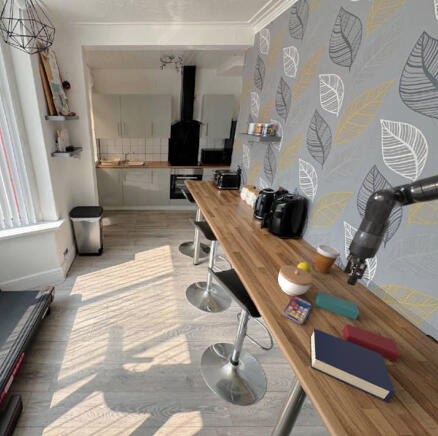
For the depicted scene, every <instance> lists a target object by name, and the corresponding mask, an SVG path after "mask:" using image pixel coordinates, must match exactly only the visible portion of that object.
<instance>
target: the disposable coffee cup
mask: <svg viewBox="0 0 438 436" xmlns="http://www.w3.org/2000/svg"><path fill="white" fill-rule="evenodd" d="M340 256H341V253H340V250H339V249H337V248H336V247H333V246H331V245H327V244H320V245H318V247H316V255H315V261H314V264H313V268H314V269H315V270H316V271H318V272H320V273H324V274H328V273H329V271H330V270H331V269H332V267H333V265H334V264H335V262H336V261H337V259H338V258H339V257H340Z"/></svg>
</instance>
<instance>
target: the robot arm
mask: <svg viewBox="0 0 438 436" xmlns="http://www.w3.org/2000/svg"><path fill="white" fill-rule="evenodd" d="M433 201H438V174H435V175H430V176H427V177H423V178H420V179H416V180H414V181H411V182H410V183H405V184H401V185H397V186H392V187H387V188H381V189H378V190H375V191H374V192H372V193H371V194H370V196H369V197H368V199H367V201H366V203H365V209H364V215H363V218H362V220H361V222H360V225H359V227H358V228H357V230H356V231H355V232H354V236H353V237H352V240H351V242H350V244H349V246H348V251H349V253H348V255H347V257H346V265H345V268H344V269H343V273H344V274H348V275H349V277H348V278H347V280H346V284H347V285H349V286H352V287H353V286H355V285H356V283H357V281H358V280H361V281H362V279H363V276H364V274H365V272H366V271H367V268H368V264H367V259H374V258H375V257H376V255H377V253H378V251H379V250H380V247H381V246H382V245H383V242H384V238H385V235H386V233H387V231H388V230H389V228H390V226H391V222H392V221H391V219H390V217H391V215H392V212H393V210H394V209H398V208H401V207H402V208H403V207H407V206H411V205H414V204H419V203H429V202H433Z"/></svg>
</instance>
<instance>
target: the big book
mask: <svg viewBox="0 0 438 436" xmlns="http://www.w3.org/2000/svg"><path fill="white" fill-rule="evenodd" d="M309 350H310V368H311V369H313V370H316V371H317V372H319V373H321V374H324V375H325V376H326V375H327V376H329V377H330V378H333V379H335V380H337V381H339V382H341V383H344V384H346V385H348V386H350V387H352V388H354V389H357V390H359V391H361V392H363V393H365V394H368V395H370V396H372V397H374V398H377V399H379V400H380V401H383V402H385V403H389V402H390V400H391V399H392V398H393V397H394V395H395V394H396V392H395V391H396V390H395V388H394V385H393V383H392V379H391V376H390V374H389V370H388V368H387V365H386V361H385V358H384V357H383V355H382V354H379V353H377V352H374V351H371V350H369V349H366V348H364V347H361V346H359V345H356V344H353V343H351V342H348V341H346V340H344V338H341V337H338V336H335V335H332V334H330V333H327V332H325V331H322V330H320V329H317V328H315V327H314V328H313V332H312V335H311V336H309Z"/></svg>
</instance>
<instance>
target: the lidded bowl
mask: <svg viewBox="0 0 438 436" xmlns="http://www.w3.org/2000/svg"><path fill="white" fill-rule="evenodd" d="M277 281H278V285H279V286H280V288H281V290H282V291H283V293H286V294H287V295H289V296H292V297H293V296H298V297H299V296H302V295H304V294H305V293H307V292H308V291H309V290H310V288H311V286H312V284H313V283H314V278H313V276H312V274H310V273H308V272H307V271H305V270H303V269H301V268H298V267H297V266H294V265H283V266H281V267H280V269H279V273H278V278H277Z"/></svg>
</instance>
